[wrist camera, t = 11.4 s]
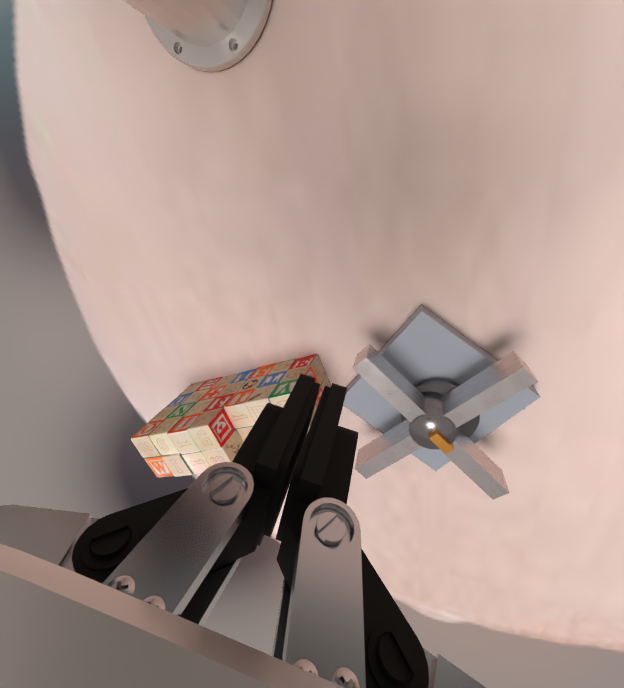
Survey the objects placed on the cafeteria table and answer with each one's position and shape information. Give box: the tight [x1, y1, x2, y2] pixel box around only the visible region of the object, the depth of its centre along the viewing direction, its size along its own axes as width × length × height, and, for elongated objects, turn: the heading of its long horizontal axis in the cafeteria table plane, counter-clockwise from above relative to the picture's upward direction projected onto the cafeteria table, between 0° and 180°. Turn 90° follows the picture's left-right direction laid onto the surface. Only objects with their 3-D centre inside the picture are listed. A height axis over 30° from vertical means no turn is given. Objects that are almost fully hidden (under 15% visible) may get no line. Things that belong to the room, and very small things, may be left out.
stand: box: [343, 305, 540, 471], centre depth 37 cm, size 15×15×2 cm
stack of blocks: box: [131, 354, 331, 477], centre depth 40 cm, size 21×6×12 cm, turn 112°
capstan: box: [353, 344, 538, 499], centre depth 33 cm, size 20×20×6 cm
